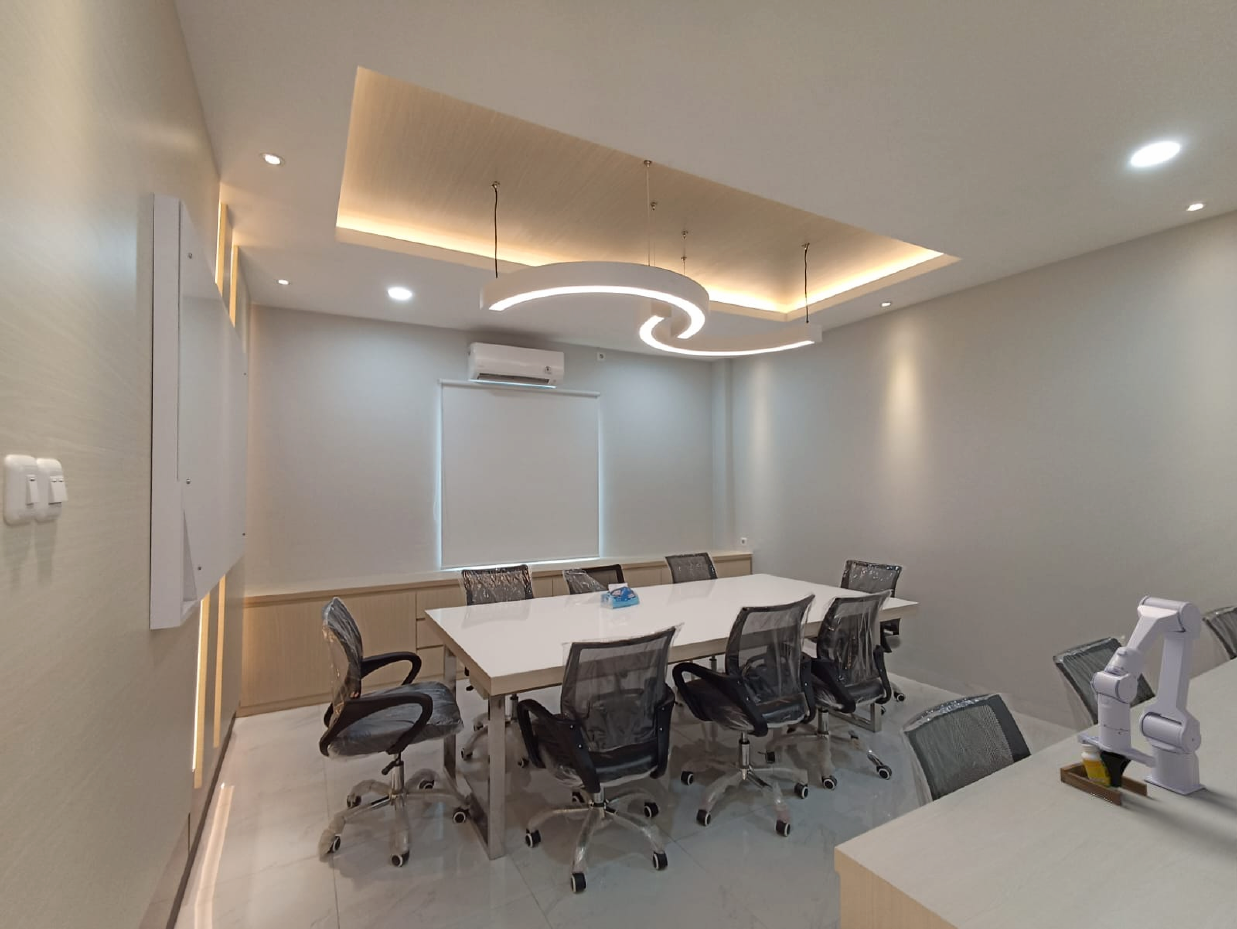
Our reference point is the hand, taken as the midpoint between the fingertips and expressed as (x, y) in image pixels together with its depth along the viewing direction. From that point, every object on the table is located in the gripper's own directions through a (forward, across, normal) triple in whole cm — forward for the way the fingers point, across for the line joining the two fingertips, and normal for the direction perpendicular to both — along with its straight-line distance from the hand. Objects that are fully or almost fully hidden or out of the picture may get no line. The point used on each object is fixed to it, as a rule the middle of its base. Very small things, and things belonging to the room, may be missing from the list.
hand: (1115, 786), depth 132 cm
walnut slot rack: (+2, -3, +1) cm, 4 cm away
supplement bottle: (+2, -2, +1) cm, 3 cm away
